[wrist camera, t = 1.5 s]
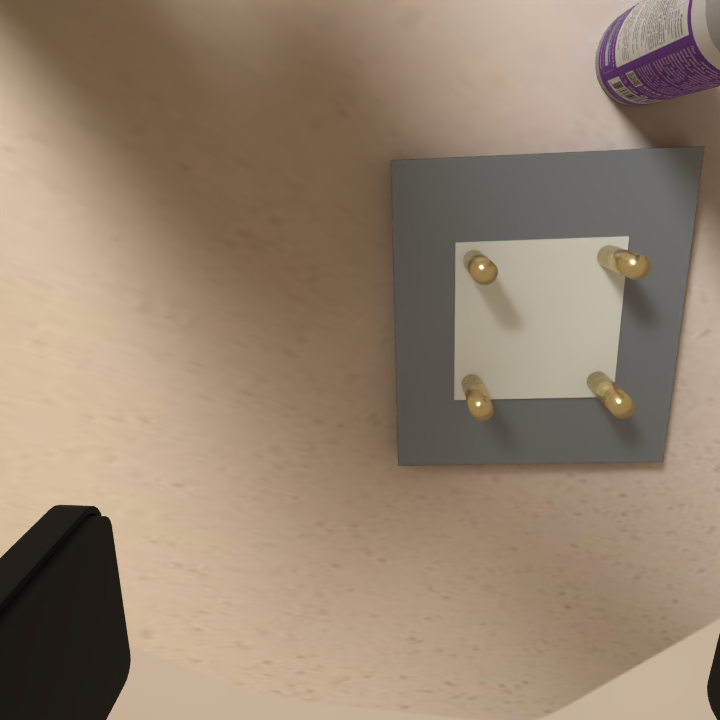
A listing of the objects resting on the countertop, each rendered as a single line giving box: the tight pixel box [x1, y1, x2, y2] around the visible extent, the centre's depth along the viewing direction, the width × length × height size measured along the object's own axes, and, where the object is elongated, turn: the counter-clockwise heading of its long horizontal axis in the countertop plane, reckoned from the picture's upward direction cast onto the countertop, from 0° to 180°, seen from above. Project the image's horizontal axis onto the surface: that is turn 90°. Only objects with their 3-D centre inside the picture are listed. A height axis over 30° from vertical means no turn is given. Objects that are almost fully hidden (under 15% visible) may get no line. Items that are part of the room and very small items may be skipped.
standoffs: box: [461, 245, 651, 421], centre depth 31 cm, size 8×8×4 cm
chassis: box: [391, 146, 704, 466], centre depth 34 cm, size 18×16×2 cm
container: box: [596, 0, 720, 106], centre depth 23 cm, size 5×5×15 cm
